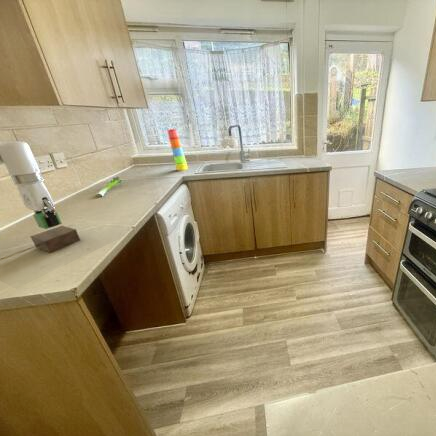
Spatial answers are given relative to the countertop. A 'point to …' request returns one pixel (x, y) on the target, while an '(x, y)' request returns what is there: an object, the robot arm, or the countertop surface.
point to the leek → (109, 186)
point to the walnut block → (55, 238)
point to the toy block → (43, 220)
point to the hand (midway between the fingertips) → (50, 224)
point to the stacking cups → (177, 150)
